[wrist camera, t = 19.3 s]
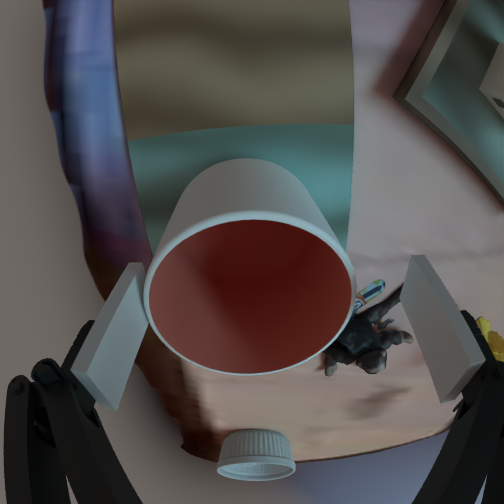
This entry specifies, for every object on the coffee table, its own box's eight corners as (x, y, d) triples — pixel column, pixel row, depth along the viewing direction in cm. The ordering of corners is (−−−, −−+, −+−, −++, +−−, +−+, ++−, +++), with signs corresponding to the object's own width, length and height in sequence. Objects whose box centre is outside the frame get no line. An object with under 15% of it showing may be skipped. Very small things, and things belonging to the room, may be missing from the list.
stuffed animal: (296, 375, 32) (327, 375, 21) (300, 295, 36) (328, 257, 25) (386, 374, 32) (444, 367, 21) (385, 300, 36) (436, 268, 25)
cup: (195, 137, 19) (158, 182, 10) (331, 178, 20) (394, 248, 12) (167, 259, 23) (138, 357, 15) (284, 286, 25) (305, 384, 17)
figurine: (411, 361, 33) (431, 416, 25) (476, 297, 27) (511, 350, 20) (451, 374, 35) (469, 418, 28) (505, 322, 30) (532, 365, 22)
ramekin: (286, 421, 41) (288, 460, 35) (298, 446, 47) (300, 477, 41) (208, 427, 43) (204, 463, 37) (233, 452, 49) (231, 481, 44)
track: (127, -126, 4) (125, -128, 4) (312, -147, 3) (313, -149, 3) (164, 291, 27) (163, 294, 26) (339, 284, 26) (340, 287, 26)
